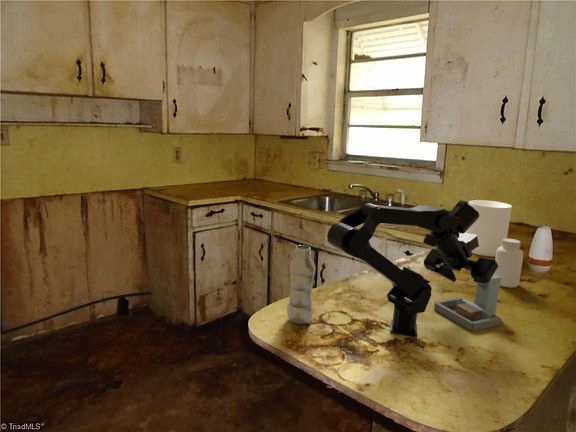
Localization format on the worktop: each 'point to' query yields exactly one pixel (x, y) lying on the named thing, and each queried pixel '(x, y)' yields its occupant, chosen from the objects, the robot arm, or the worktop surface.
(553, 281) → the worktop surface
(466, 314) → the block
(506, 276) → the pill bottle
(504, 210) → the canister
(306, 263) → the plastic bottle
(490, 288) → the grey upright block
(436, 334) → the worktop surface
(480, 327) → the grey u-shaped bar
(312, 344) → the worktop surface
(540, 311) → the worktop surface
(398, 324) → the robot arm
